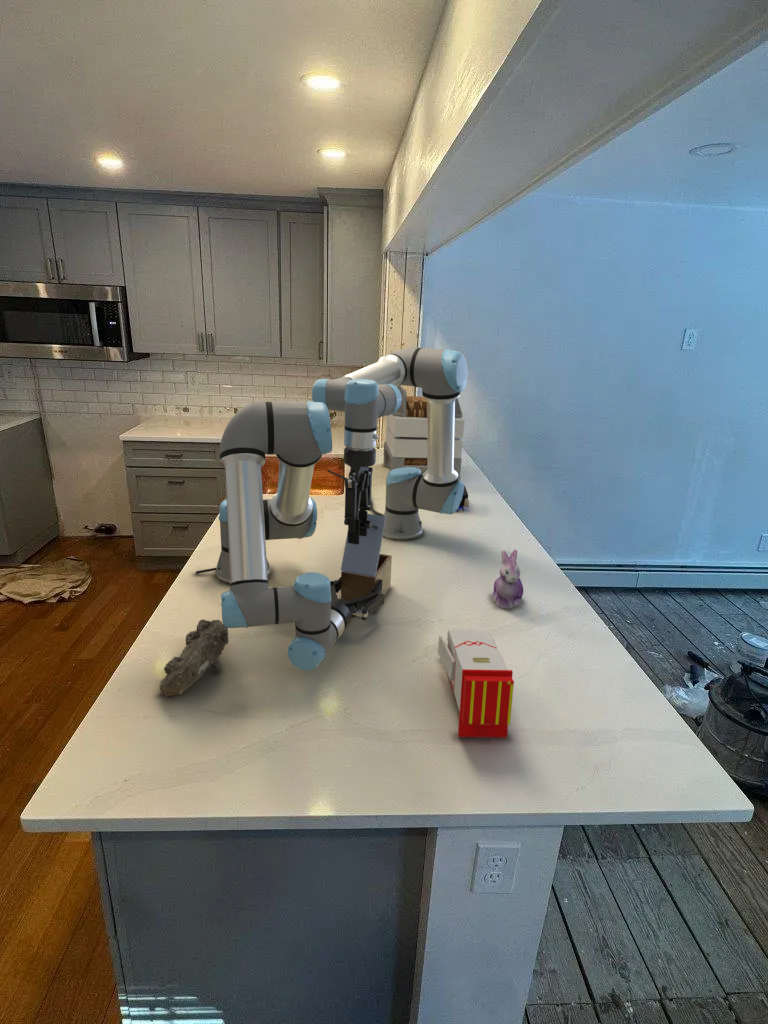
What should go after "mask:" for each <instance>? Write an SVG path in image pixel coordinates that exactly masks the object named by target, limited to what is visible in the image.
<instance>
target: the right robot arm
mask: <svg viewBox="0 0 768 1024" xmlns="http://www.w3.org/2000/svg"><path fill="white" fill-rule="evenodd" d="M468 378H469V369H468V363H467V359H466V357H465V355H464V354H463V353H462V352H461V351H458V350H452V349H448V348H429V347H418V346H417V347H416V346H415V347H405V348H402V349H398V350H395V351H392V352H389V353H387V354H384V355H383V356H381V357H380V358H379V359H378V361H377V362H374V363H372V364H369V365H367V366H364V367H363V368H359V369H357V370H354V371H353V372H350V373H348V374H345V375H343V376H340V377H338V378H335V379H331V378H330V379H329V378H319V379H317V380H315V382H314V384H313V386H312V389H311V399H312V400H311V401H312V402H322V403H324V404H326V406H327V407H328V411H335V412H343V413H344V428H343V429H344V430H343V445H344V449H343V463H344V464H345V465H346V466H348V467H350V469H349V473H348V477H346V476H343V475H341V474H339V473H336V472H334V471H333V470H330V469H327V470H326V472H328V473H330V474H331V475H334V476H336V477H338V478H341V479H342V480H344V489H345V490H344V491H345V492H344V516H343V517H344V520H345V519H348V525H347V533H348V543H351V544H357V545H358V544H359V536H365V537H366V536H367V528H362V527H360V519H362V520H367V515H368V514H369V513H368V511H369V512H372V513H373V514H374V515H380V516H386V520H385V526H384V532H383V537H385V538H387V539H389V540H395V541H410V540H415V539H418V538H420V537H421V536H422V535H423V525H422V524H423V522H422V520H421V518H420V515H419V510H423V511H428V512H434V513H437V514H440V515H442V514H444V515H453V514H455V513H456V512H457V511H458V509H459V508H458V507H459V505H460V502H461V500H462V496H463V492H464V486H465V483H464V481H462V480H460V481H458V473H457V472H456V471H455V470H454V429H455V400H456V399H457V398H458V399H459V397H460V396H461V392H464V390H465V389H466V387H467V384H468ZM398 385H400V386H407V387H414V388H421V397H424V398H425V399H426V400H427V466H426V467H427V469H426V470H424V472H423V473H422V470H421V468H419V467H415V466H411V467H410V466H406V467H405V466H404V468H397V469H393V470H391V471H390V470H389V471H388V473H387V475H386V480H385V481H386V482H385V504H384V505H385V507H384V508H385V509H384V513H381V512H378V511H376V510H375V509H374V505H373V501H372V486H373V485H372V484H373V483H372V482H373V481H372V480H373V471H374V469H373V466H374V465H375V464H376V462H377V461H376V460H377V450H376V448H375V447H376V446H377V440H378V439H379V435H378V434H377V431H378V419H379V418H382V417H383V418H384V417H386V416H388V415H390V414H392V413H394V412H396V411H397V410H398V409H399V407H400V406H401V402H402V396H401V393H400V391H399V389H398V388H397V386H398ZM456 510H457V511H456Z"/></svg>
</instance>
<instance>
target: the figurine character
mask: <svg viewBox="0 0 768 1024" xmlns="http://www.w3.org/2000/svg"><path fill="white" fill-rule="evenodd" d="M469 505H470V500H469V492H468V490H467V488H466V485H464V492H463V496H462V500H461V502H460V505H459V507H458V509H461V511H462V512H464V511H465V508H469ZM458 509H457V510H456V511H455V512H457V511H458Z"/></svg>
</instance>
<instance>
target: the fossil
mask: <svg viewBox="0 0 768 1024" xmlns="http://www.w3.org/2000/svg"><path fill="white" fill-rule="evenodd" d="M228 644H229V628H227V627H225V626H224V624H223V622H222V620H220V619H212V620H206V619H200V620H199V621H198V623H197V625H196V630H192V631H189V632H188V633H186V636H185V646H184V648H183V649H182V652H181V653H180V655H179V656H173V657H172V659H171V660H169V661H168V662H167V663H166V664H165V665H164V667H163V671H164V672H165V674H166V676H165V677H164V678H163V679H161V681H160V684H159V691H160V695H165V696H166V697H172V696H176V695H181V694H183V693H184V692H185V691H186V690H188V688H190V687H192V685H193V684H194V683H195V682H197V680H199V679H200V678H201V677H202V676H204V673H205V672H206V670H207V669H208V668H210V667H211V668H212V669H213V670H214V671H216V672H218V671H219V669H218V668H217V667H216V665H214V663H213V662H214V661H215V660H216V659H219V657H220V656H221V655H222V653H223V651H224V649H225V647H226V646H227V645H228Z"/></svg>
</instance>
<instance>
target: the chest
mask: <svg viewBox="0 0 768 1024" xmlns="http://www.w3.org/2000/svg"><path fill="white" fill-rule="evenodd" d="M392 559H393V555H391V554H384V553H380V555H379V560H378V566H377V572H376V577H375V576H369V575H363V574H358V573H352V572H347V571H340V577H341V590H340V599H342V600H347V601H350V600H352V599H354V598H355V599H359V598H361V597H363V596H366V595H368V594H370V593H372V589H373V588H374V587H375V585H376V584H377V583H378V581H379V580H382V594H384V598H385V597H386V595H387V594H388V593H389V590H390V589H391V580H392V561H393V560H392ZM375 612H376V611H374V612H373V613H375ZM373 613H372V614H373Z"/></svg>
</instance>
